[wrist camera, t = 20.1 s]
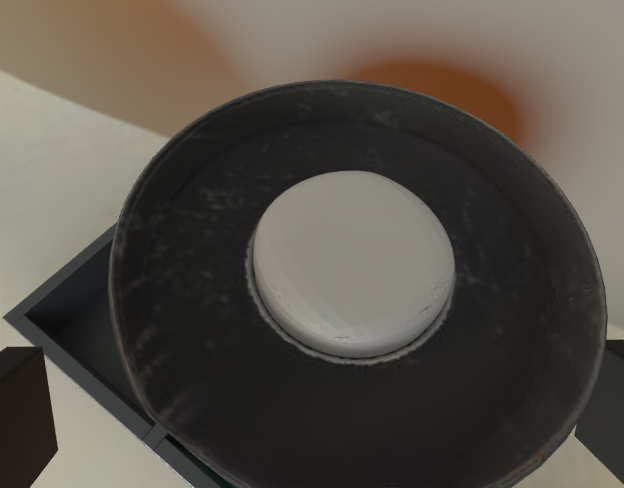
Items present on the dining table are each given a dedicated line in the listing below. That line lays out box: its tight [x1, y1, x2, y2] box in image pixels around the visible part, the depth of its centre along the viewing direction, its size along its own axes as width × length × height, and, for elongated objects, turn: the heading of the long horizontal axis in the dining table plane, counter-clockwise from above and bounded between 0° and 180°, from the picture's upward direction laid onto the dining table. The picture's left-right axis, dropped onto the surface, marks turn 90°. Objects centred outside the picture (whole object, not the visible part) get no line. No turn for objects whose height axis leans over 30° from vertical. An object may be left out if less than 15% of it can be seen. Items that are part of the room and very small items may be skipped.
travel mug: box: [108, 80, 608, 488], centre depth 15 cm, size 8×8×20 cm
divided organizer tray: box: [3, 223, 239, 488], centre depth 23 cm, size 22×12×4 cm, turn 56°
